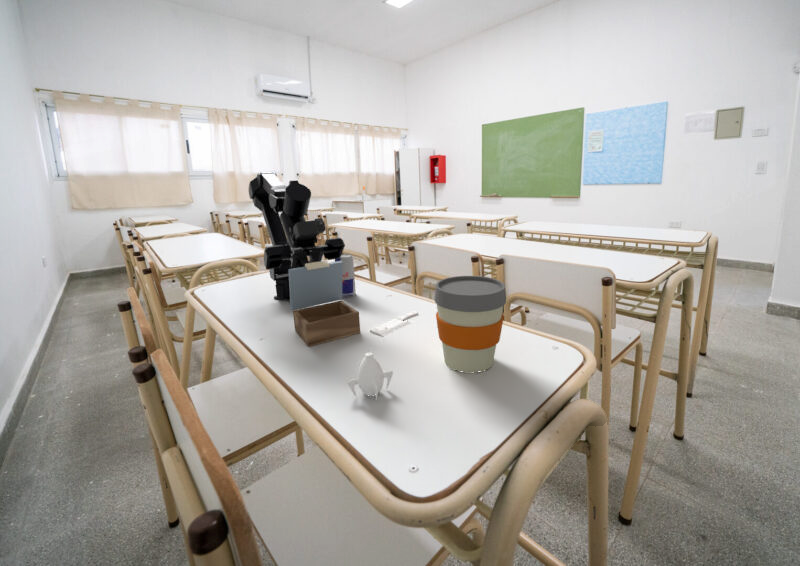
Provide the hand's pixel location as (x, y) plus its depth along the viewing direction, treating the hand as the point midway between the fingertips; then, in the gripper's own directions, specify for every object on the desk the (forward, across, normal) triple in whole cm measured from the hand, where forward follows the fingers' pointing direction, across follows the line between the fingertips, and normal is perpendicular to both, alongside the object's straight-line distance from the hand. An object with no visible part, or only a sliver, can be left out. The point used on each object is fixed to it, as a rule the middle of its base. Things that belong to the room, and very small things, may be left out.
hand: (316, 282), depth 85 cm
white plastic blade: (+16, +16, +1) cm, 22 cm away
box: (+11, 0, +4) cm, 12 cm away
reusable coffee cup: (+32, +17, -16) cm, 39 cm away
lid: (+2, 0, -1) cm, 2 cm away
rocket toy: (+31, -3, -15) cm, 34 cm away
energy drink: (-5, +15, +21) cm, 26 cm away
